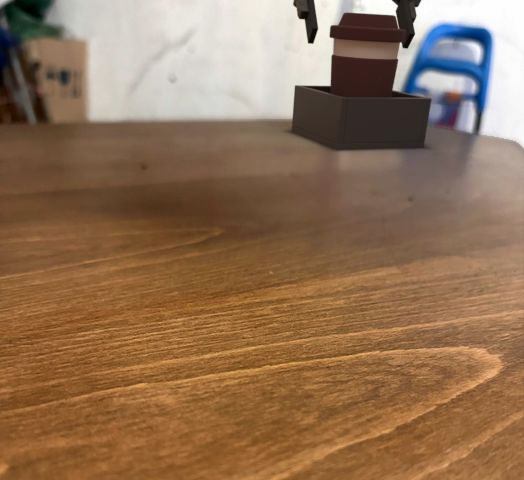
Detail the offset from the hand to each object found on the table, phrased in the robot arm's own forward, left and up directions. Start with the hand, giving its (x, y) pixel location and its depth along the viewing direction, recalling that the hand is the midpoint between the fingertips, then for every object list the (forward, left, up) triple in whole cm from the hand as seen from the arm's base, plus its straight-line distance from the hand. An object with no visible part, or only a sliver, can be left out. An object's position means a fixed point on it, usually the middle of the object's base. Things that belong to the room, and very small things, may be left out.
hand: (361, 39), depth 90 cm
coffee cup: (0, +2, -12) cm, 12 cm away
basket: (+1, +2, -13) cm, 13 cm away
